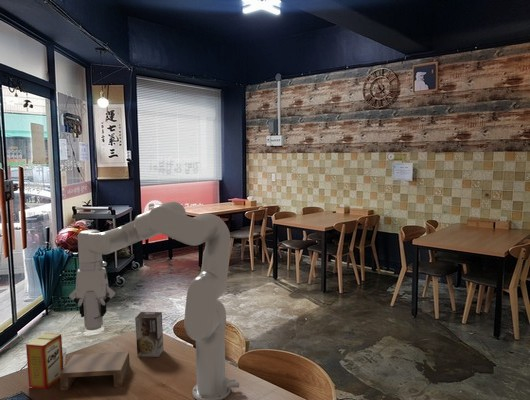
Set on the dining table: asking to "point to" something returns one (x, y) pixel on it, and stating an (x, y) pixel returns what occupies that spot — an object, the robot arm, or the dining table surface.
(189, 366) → the dining table surface
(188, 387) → the dining table surface
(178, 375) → the dining table surface
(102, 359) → the walnut stand
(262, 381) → the dining table surface
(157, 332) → the coffee box
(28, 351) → the baking soda box
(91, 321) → the energy drink can
